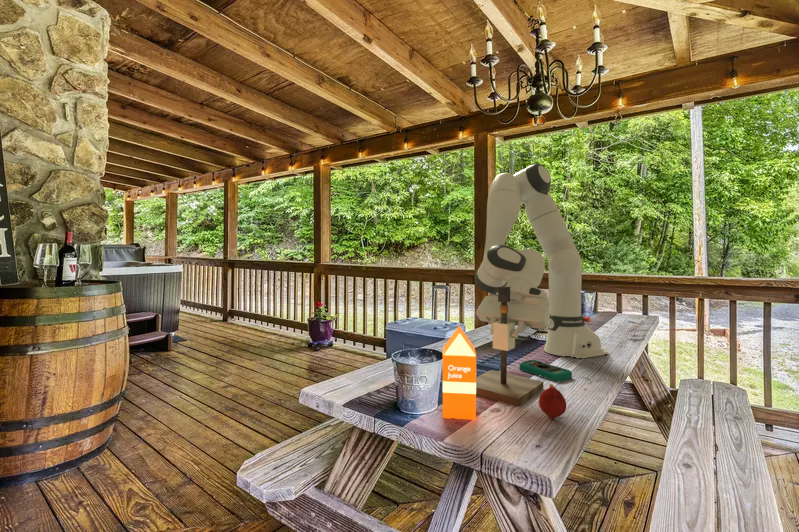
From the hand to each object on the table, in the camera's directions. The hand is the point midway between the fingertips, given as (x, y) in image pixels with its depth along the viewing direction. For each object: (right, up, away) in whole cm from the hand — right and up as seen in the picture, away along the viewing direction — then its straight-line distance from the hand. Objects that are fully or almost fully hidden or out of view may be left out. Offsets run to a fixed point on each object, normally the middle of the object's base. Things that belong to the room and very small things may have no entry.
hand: (503, 335), depth 103 cm
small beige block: (0, -4, +1) cm, 4 cm away
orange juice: (-14, -16, -12) cm, 25 cm away
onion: (+7, -16, -17) cm, 24 cm away
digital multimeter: (+17, -15, +15) cm, 27 cm away
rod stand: (0, -15, +1) cm, 15 cm away
